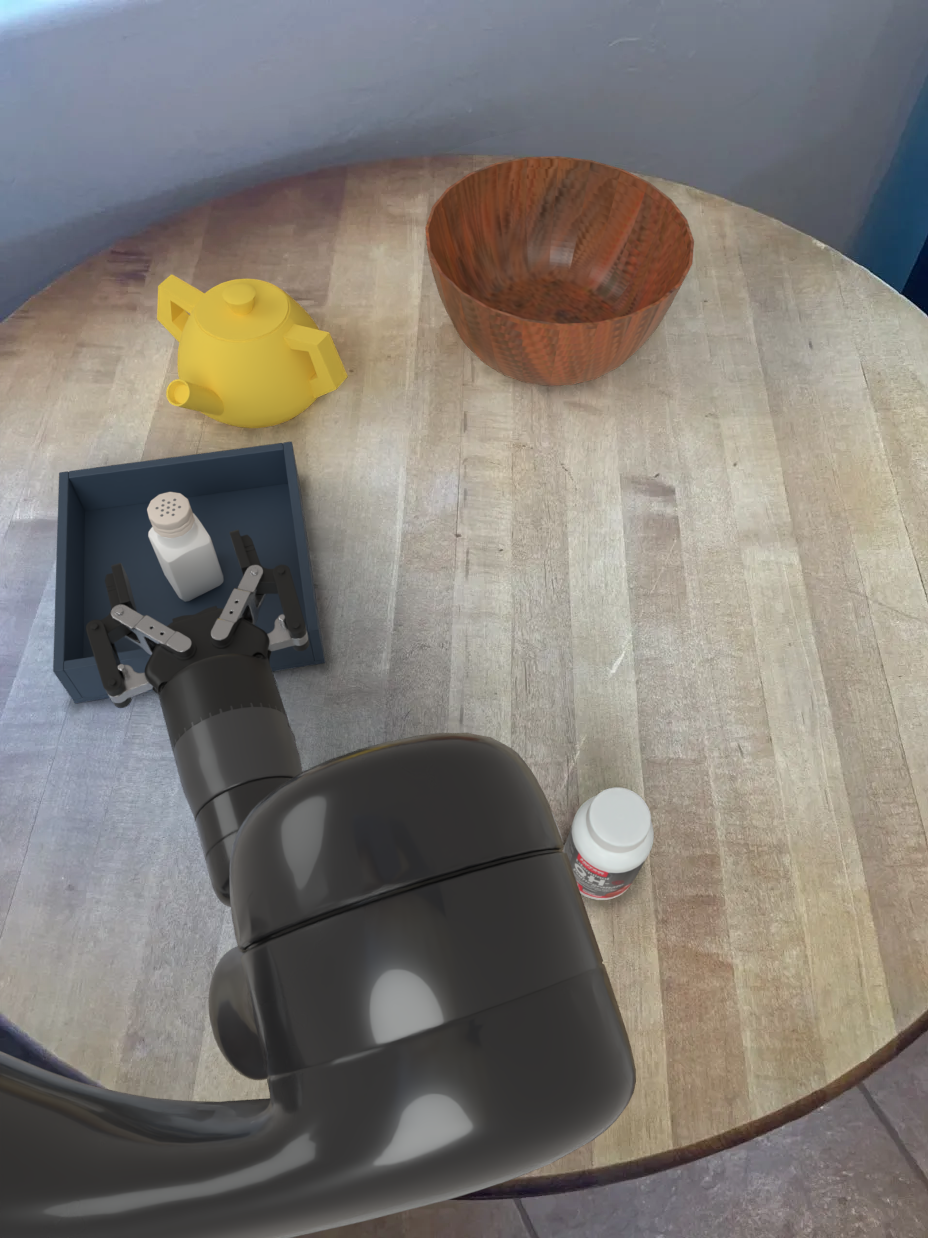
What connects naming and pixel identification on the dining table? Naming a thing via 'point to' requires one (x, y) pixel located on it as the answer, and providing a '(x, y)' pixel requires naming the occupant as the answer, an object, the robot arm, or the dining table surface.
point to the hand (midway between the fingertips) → (177, 553)
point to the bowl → (556, 265)
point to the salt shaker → (183, 546)
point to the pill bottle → (609, 842)
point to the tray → (118, 533)
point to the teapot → (246, 352)
